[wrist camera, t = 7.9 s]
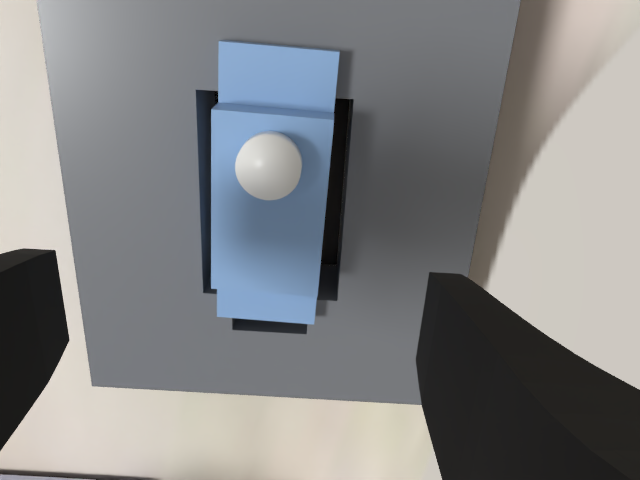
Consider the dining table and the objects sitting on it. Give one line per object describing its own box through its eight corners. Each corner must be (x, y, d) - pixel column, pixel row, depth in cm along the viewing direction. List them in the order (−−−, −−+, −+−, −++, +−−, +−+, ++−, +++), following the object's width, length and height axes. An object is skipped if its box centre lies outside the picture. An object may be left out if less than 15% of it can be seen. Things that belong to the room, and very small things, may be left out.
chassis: (430, 361, 21) (443, 406, 19) (118, 343, 21) (92, 386, 18) (501, -51, 15) (532, -59, 13) (70, -78, 15) (23, -91, 13)
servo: (316, 277, 20) (312, 353, 15) (233, 270, 20) (206, 345, 15) (338, 42, 16) (340, 58, 12) (238, 33, 16) (205, 46, 12)
